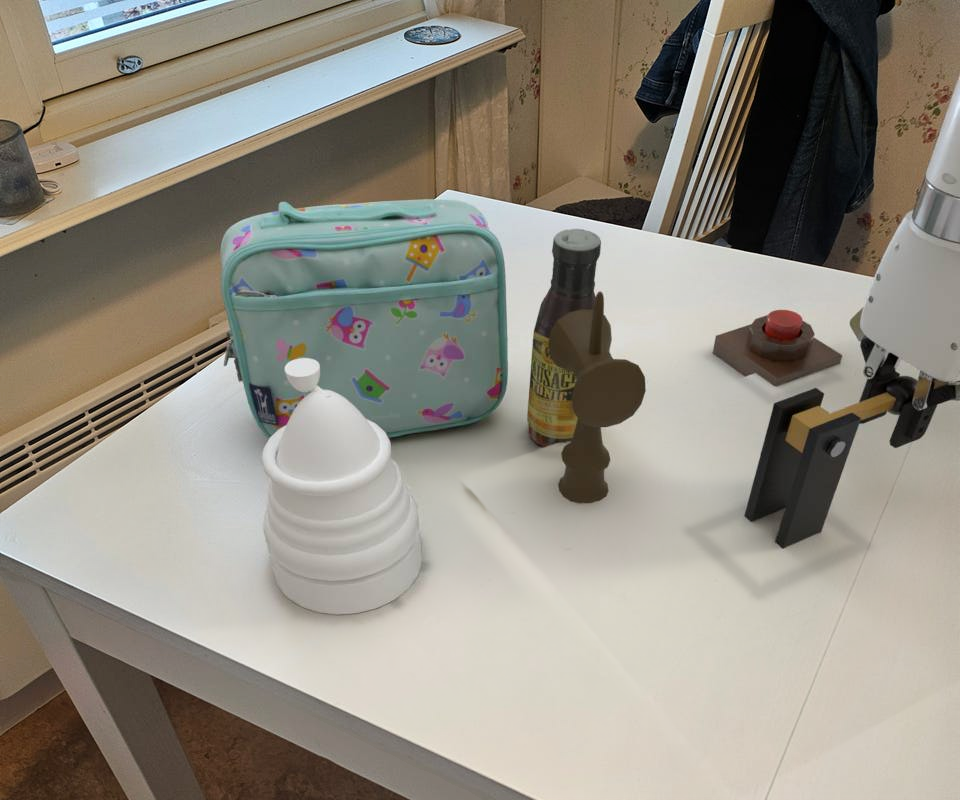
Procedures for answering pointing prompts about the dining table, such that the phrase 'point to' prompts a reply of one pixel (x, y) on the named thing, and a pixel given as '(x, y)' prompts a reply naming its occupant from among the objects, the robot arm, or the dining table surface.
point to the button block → (774, 353)
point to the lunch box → (370, 310)
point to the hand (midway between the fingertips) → (887, 428)
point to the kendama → (592, 397)
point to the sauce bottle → (566, 294)
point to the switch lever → (853, 409)
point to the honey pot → (337, 505)
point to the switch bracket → (800, 469)
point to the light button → (783, 325)
